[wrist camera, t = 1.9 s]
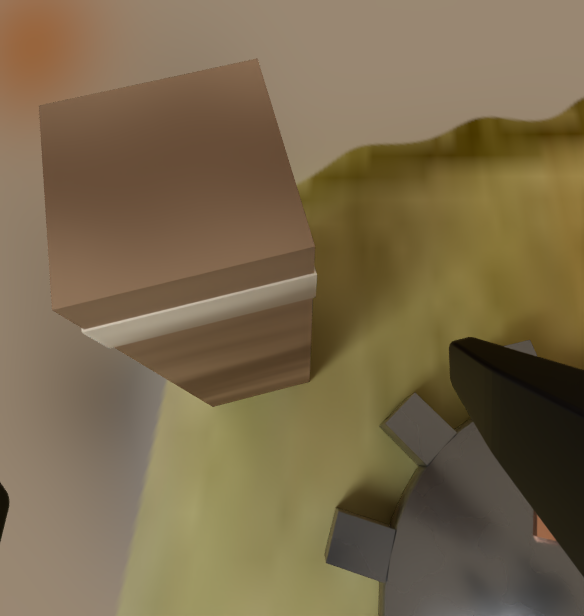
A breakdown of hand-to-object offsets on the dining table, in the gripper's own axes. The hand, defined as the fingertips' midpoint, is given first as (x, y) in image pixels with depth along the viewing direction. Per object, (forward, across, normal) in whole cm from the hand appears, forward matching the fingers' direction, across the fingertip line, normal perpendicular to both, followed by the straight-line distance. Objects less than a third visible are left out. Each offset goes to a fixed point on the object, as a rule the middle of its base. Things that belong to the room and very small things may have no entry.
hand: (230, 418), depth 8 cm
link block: (+11, 0, +5) cm, 12 cm away
